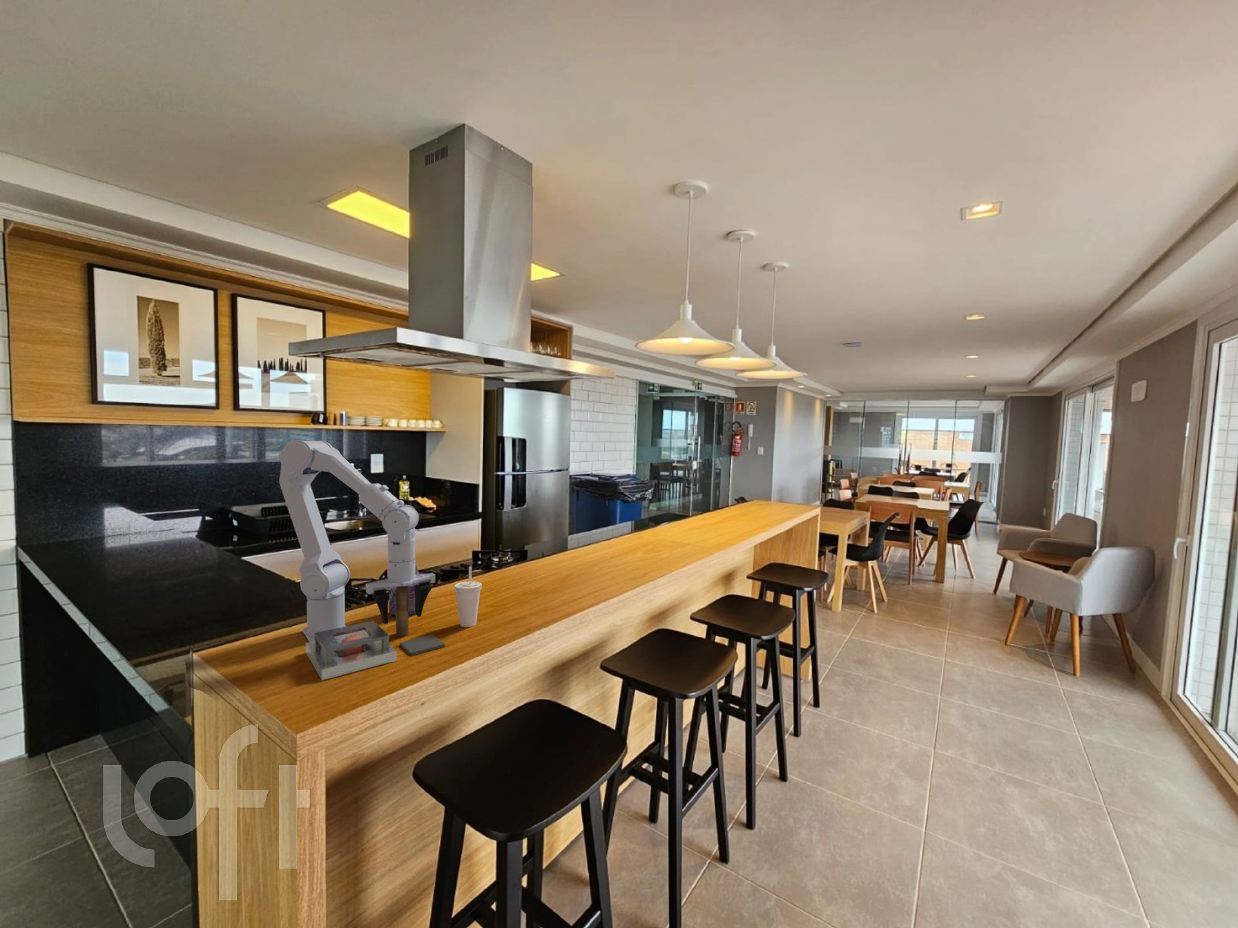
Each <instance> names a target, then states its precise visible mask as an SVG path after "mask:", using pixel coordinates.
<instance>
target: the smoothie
mask: <svg viewBox="0 0 1238 928" xmlns="http://www.w3.org/2000/svg"><path fill="white" fill-rule="evenodd" d="M482 585H483V584H482V582H479V581H472V566H469V567H468V581H461V582H458V583H455V584H454V588H453V590H454V591H455V596H456V604H457V611H458V619H459V626H460V627H462V628H470V627H474V626H476V625H477V620H478V612H479V604H480V603H479V602H480V595H481V590H482V588H483V587H482Z"/></svg>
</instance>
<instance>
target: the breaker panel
mask: <svg viewBox="0 0 1238 928" xmlns="http://www.w3.org/2000/svg"><path fill="white" fill-rule="evenodd" d="M349 633H350V634H349ZM344 634H345V635H344ZM340 635H341V636H340ZM335 636H336V637H335ZM351 636H361V637H362V638H360V639H355V640H351V641H347V642H342V640H343V639H345V638H347V637H351ZM359 645H362V652H360V653H358V654H354V655H345V656H344V655H343V654H342V649H346V648H350V647H355V646H359ZM397 652H398V651H397V650H396V649H395V648H394V646H393V645H392V644H390V635H389V634H388V633H387V632H386V631H385V630H384V629H383V628H382V627H381V626H379V624H377V623H376V622H375V620H370V621H365V622H360V623H357V624H356V623H355V624H351V625H345V627H341V628H336V629H331V630H326V631H321V632H317V633H315V641H313V642H309V641H308V642H305V654H306V656H307V657H308V659H309V660H310V662H311V663H312V664H311V665H313V666H312V667H314V669H315V671H316V673H317V674H318V676H319V678H320V680H321V681H325V680H329V679H333V678H337V677H340V676H344V675H349V674H352V673H355V672H359V671H364V670H366V669H371V668H374V667H378V666H381V665H385V664H390V663H393V662H397V660H398V657H397V654H398V653H397Z"/></svg>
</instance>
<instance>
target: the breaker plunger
mask: <svg viewBox="0 0 1238 928" xmlns="http://www.w3.org/2000/svg"><path fill="white" fill-rule="evenodd" d="M360 638H362V637H361V636H351V637H347V638H345V639H343V640H342V642H347V641H351V640H355V639H360ZM362 652H363V651H362V645H359V646H355V647H350V648H346V649H342V654H343V656H350V655H354V654H358V653H362Z"/></svg>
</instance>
